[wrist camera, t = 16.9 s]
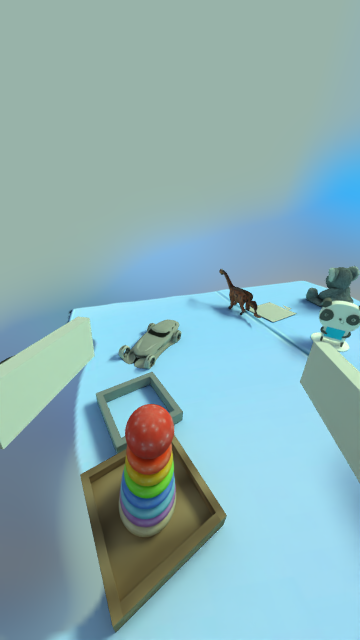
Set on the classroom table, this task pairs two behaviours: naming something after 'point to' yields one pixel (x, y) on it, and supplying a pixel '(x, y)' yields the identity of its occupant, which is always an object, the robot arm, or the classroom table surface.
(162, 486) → the stacking toy
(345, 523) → the classroom table surface
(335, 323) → the panda figurine
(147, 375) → the socket collar
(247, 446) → the classroom table surface
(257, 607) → the classroom table surface
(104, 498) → the walnut tray
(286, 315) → the paper stack
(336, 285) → the koala plush
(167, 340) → the car model
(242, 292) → the toy dinosaur
